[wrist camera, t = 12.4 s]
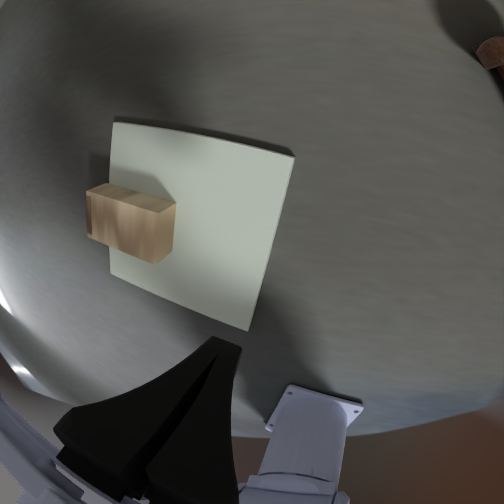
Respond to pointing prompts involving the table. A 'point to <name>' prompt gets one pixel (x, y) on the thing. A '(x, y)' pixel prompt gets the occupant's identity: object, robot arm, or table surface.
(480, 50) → the bolt
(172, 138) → the board
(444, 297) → the table surface
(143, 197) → the slab
